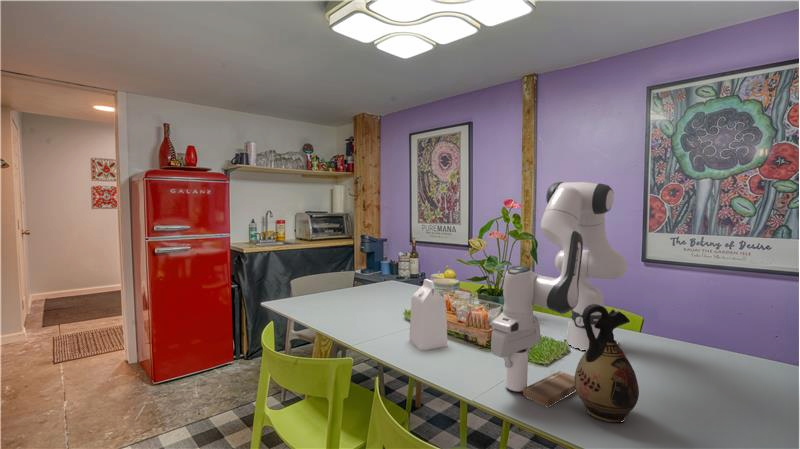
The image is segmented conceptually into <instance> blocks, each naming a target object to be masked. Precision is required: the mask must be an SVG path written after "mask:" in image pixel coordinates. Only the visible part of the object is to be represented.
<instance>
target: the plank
mask: <svg viewBox="0 0 800 449" xmlns="http://www.w3.org/2000/svg"><path fill="white" fill-rule="evenodd" d="M575 390H576V389H575V375H571V374H569V373H568V372H564V371H561V370H559V371H557V372H555V373H553V374H551V375H549V376H546V377H544V378H543V379H540V380H538V381H536V382H534V383H532V384H530V385H527V387H525V388H523V391H522V396H523V395H524V396H526V397H528V398H530V399H532V400H534V401H536V402H538V403H540V404H542V405H541V406H543V405H544V406H543V407H545V406H547V407H549V406H550V405H552V404H554V403H555V402H557V401H559V400H560V399H562V398H564V397H565V396H567V395H569V394H570V393H572V392H574V391H575ZM524 396H523V397H524ZM526 397H525V398H526ZM528 398H527V399H528ZM530 399H529V400H530ZM532 400H531V401H532ZM534 401H533V402H534ZM536 402H535V403H536ZM559 402H560V401H559ZM538 403H537V404H538ZM557 403H558V402H557ZM540 404H539V405H540ZM554 405H555V404H554ZM552 406H553V405H552ZM547 407H546V408H547ZM550 407H551V406H550ZM550 407H549V408H550Z"/></svg>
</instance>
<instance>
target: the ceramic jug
mask: <svg viewBox="0 0 800 449" xmlns="http://www.w3.org/2000/svg"><path fill="white" fill-rule="evenodd" d="M596 312H599V313H601V317H600V318H599V319H598V321H597V323H596V324H595V326H594V327H595V328H597V329H600V332H599V334H598V337H597V338H595V335H594V333H593V329H592V326H591V322H590V315H591V314H592V313H596ZM583 323H584V326H585V330H586V333H587V337H588V339H589V348H588V349H587V351H584V352H583V354H582V356H581V357H580V359H579V362H578V363H577V366H576V369H575V374H574V377H575V389H576V392H575V393H576V394H577V396H578V398H579V399H580V401H581V402H582V404H583V405H584V406H585V409H586V410H587V411H586V413H587V412H588V413H589V414H588V413H587V414H588V415H590V414H591V415H590V416H592V417H594V418H596V419H598V420H601V421H603V420H604V422H606V421H608V422H607V423H612V422H621V421H623V420H624V418H625V419H626V416H628V414H630V413H631V411H633V410H634V408H635V407H636V405H637V403H638V400H639V396H640V388H639V383H638V378H637V375H636V372H635V370H634V368H633V365H632V363H631V362H630V361H629V359H628V357H627V356H626V354H625V352H624V351H623V350H622V348H621V347H620V345H618V344H617V343H616V341H615V340H616V339H615V335H614V330H615V329H616V328H619V327H620V326H623V325H626V324H628V323H630V319H629V318H628V317H627V316H626V315H625V314H624V313H622V312H621V311H620V310H618V311H616V310H615V309H611V310H610V312H609V311H608V310H607V308H606V307H604V305H603V306H601V305H597V304H592V305H589V306H587V307H586V308H585V309H584V311H583ZM614 339H615V340H614Z"/></svg>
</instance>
